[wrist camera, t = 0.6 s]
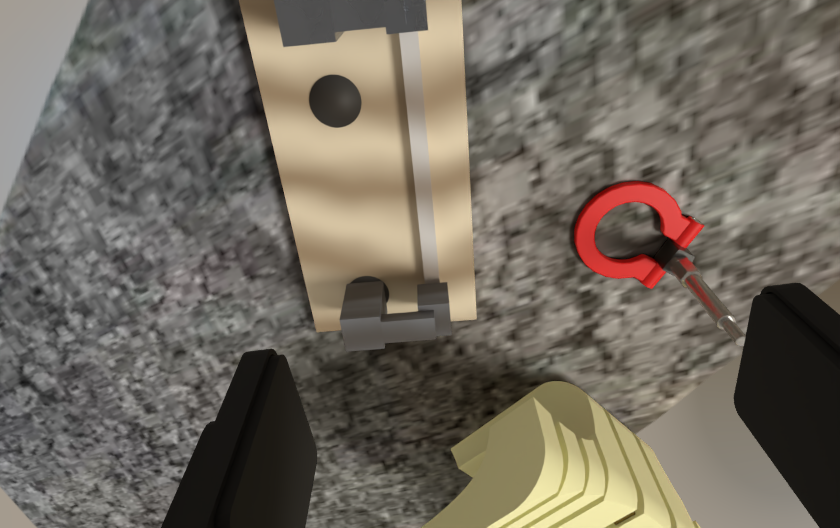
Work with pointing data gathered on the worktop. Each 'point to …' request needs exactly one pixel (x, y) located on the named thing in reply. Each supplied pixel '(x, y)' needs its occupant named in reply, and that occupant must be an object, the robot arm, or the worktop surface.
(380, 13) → the leg
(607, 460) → the slatted curved stool
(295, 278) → the worktop surface
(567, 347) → the worktop surface
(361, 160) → the bolt plate
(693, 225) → the tow hook
